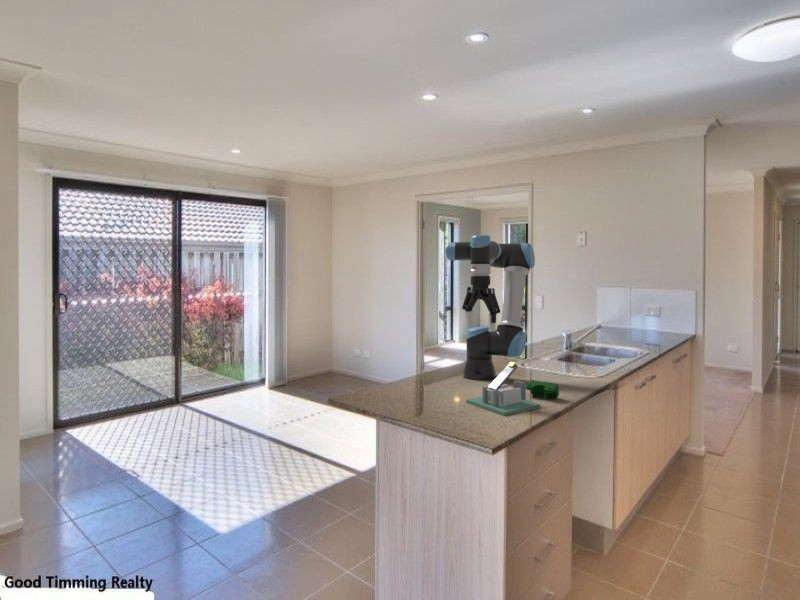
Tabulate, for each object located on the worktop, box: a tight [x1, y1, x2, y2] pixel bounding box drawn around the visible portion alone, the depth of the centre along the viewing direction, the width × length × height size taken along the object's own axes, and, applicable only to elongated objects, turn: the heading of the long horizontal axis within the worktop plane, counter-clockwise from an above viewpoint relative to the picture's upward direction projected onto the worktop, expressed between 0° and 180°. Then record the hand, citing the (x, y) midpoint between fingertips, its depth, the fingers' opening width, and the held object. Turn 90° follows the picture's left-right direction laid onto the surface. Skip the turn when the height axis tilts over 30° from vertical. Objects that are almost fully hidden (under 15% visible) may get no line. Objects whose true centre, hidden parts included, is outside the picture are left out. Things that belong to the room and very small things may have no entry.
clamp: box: [526, 379, 560, 401], centre depth 196 cm, size 12×6×9 cm, turn 42°
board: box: [465, 379, 541, 417], centre depth 186 cm, size 18×20×8 cm
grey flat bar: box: [487, 361, 519, 390], centre depth 185 cm, size 14×4×2 cm
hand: (480, 329), depth 196 cm, fingers open, 13 cm apart
